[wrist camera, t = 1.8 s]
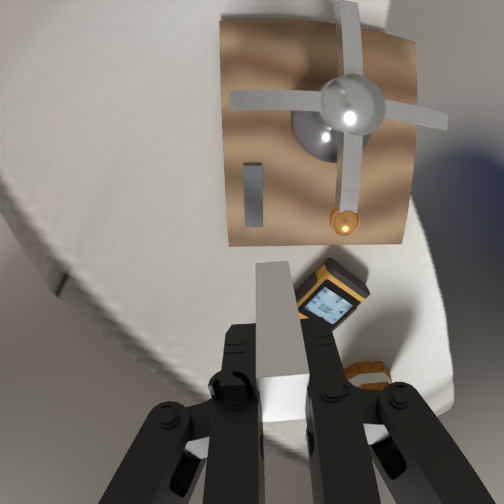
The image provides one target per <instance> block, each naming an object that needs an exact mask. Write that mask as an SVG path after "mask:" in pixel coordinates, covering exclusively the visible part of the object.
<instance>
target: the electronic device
mask: <svg viewBox="0 0 504 504" xmlns="http://www.w3.org/2000/svg"><path fill="white" fill-rule="evenodd" d="M369 295H370V292H369V290H368V288H367V286H366V285H365V284H364V283H363V282H361V281H360V280H359V279H358V278H356V277H355V276H354V275H352V274H351V273H349V272H348V271H347V270H345V269H344V268H343V267H341V266H340V265H339V264H337V263H336V262H335V261H333V260H331V258H328V259H327V260H326V261H325V263H324V264H323V265H322V266H321V267H320V268H319V269H318V270H317V271H316V273H313V274H312V275H311V276H310V277H309V278H308V279H307V280H306V281H305V282H304V283H303V284H302V286H301V287H300V288H299V289H298V290H297V291H296V292H295V298H296V303H297V308H298V313H299V318H300V319H305V318H314V317H323V318H324V319H325V320H326V321H327V322H328V323H329V324H330V326H331V329H332V331H333V330H335V329H336V328H337V327H338V326H339V325H340V324H341V323H342V322H343V321H344V320H346V319H347V318H348V317H349V316H350V315H351V314H352V313H353V312H354V311H355V310H356V309H357V307H358V306H359V305H360V304H361V303H362V302H363V301H364V300H365V299H366V298H367V297H368V296H369Z"/></svg>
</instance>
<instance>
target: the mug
mask: <svg viewBox="0 0 504 504" xmlns="http://www.w3.org/2000/svg"><path fill="white" fill-rule="evenodd" d="M344 374H345V376H346V378H347V379H348V381H349V382H350V383H352V384H353V385H354V386H356V387H359V388H362V389H368V390H380V391H382V390H383V388H384V387H386V386H387V385H388V384H390V383H392V380H391V375H390V372H389V371H388V369H387V368H386V367H385V366H384V364H383V363H382V362H381V361H380V362H363V363H355V364H354V365H352V366H350V367H348V368H346V369H345V370H344Z"/></svg>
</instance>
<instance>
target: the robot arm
mask: <svg viewBox="0 0 504 504" xmlns="http://www.w3.org/2000/svg"><path fill="white" fill-rule="evenodd" d="M224 345H225V346H224V352H223V353H224V355H223V361H222V370H221V371H219V372H217V373H216V374H215V375H214V376H213V377H212V378H211V379H210V381H209V384H208V388H209V390H210V393H211V396H212V398H211V399H209V400H208V401H206V402H203V403H201V404H197V405H193V406H189V407H184V406H183V405H182V404H180V403H178V402H171V401H168V402H163V403H160V404H158V405H157V406H155V407H154V408H153V409H152V410H151V411H150V413H149V414H148V416H147V418H146V420H145V421H144V423H143V425H142V427H141V428H140V430H139V432H138V434H137V436H136V437H135V439H134V441H133V443H132V444H131V446H130V448H129V450H128V452H127V454H126V455H125V457H124V459H123V461H122V462H121V464H120V466H119V467H118V469H117V471H116V473H115V475H114V476H113V478H112V480H111V482H110V484H109V485H108V487H107V489H106V491H105V493H104V494H103V496H102V498H101V500H100V502H99V503H98V504H188V503H189V500H190V498H191V495H192V493H193V491H194V489H195V486H196V483H197V481H198V479H199V476H200V474H201V472H202V469H203V467H204V464H205V462H206V459H207V465H206V475H205V485H204V495H203V504H265V483H264V482H265V481H264V480H265V478H264V435H263V422H269V421H283V420H295V419H304V418H305V416H306V422H307V430H306V437H305V441H307V444H308V454H309V463H310V473H311V482H312V494H313V504H381V503H380V497H379V492H378V486H377V481H376V477H375V472H374V467H373V463H372V460H373V462H374V463H375V465H376V467H377V469H378V471H379V473H380V474H381V476H382V478H383V480H384V481H385V484H386V485H387V487H388V489H389V491H390V493H391V494H392V496H393V498H394V500H395V502H396V504H496V503H495V502H494V500H493V499H492V497H491V495H490V494H489V492H488V491H487V489H486V487H485V486H484V484H483V483H482V481H481V480H480V478H479V477H478V475H477V474H476V472H475V471H474V469H473V468H472V466H471V465H470V463H469V462H468V460H467V459H466V457H465V456H464V455H463V453H462V451H461V450H460V449H459V447H458V446H457V444H456V443H455V442H454V440H453V439H452V437H451V436H450V434H449V433H448V432H447V430H446V429H445V428H444V426H443V425H442V423H441V422H440V421H439V419H438V418H437V417H436V415H435V414H434V412H433V411H432V410H431V408H430V407H429V406H428V404H427V403H426V402H425V400H424V399H423V398H422V396H421V395H420V394H419V392H418V391H417V390H416V389H415V388H414V387H413V386H412V385H410V384H407V383H405V382H394V383H390V384H388V385H387V386H386V387H384V388H383V390H382V391H380V390H368V389H362V388H359V387H356V386H354V385H353V384H352V383H350V382H349V381H348V379H347V378H346V376H345V374H344V370H343V367H342V363H341V360H340V356H339V353H338V349H337V346H336V344H335V339H334V337H333V333H332V329H331V326H330V324H329V323H328V322H327V321H326V320H325V319H324V318H323V317H314V318H305V319H300V318H299V313H298V308H297V303H296V298H295V293H294V288H293V283H292V278H291V273H290V268H289V263H288V261H280V262H267V263H256V323H253V324H236V325H231V327H230V328H229V330H228V331H227V333H226V335H225V344H224Z"/></svg>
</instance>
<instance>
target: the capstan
mask: <svg viewBox="0 0 504 504" xmlns="http://www.w3.org/2000/svg"><path fill="white" fill-rule="evenodd" d="M334 11H335V22H336V36H337V55H338V77H337V78H335V79H333V80H330V81H328V82H326V83H323V84H321V85H319V86H318V87H317V88H314V89H312V90H310V91H301V90H236V91H229V95H230V111H257V110H284V111H292V116H291V127H292V131H293V134H294V137H295V139H296V141H297V142H298V144H299V145H300V146H301V147H302V148H303V149H304V150H305V151H306V152H307V153H309V154H310V155H312V156H313V157H315V158H317V159H319V160H321V161H325V162H329V163H337V178H336V194H335V208H334V209H333V210H332V211H331V213H330V216H329V223H330V226H331V228H332V230H333V231H334V232H335V233H337V234H339V235H342V236H348V235H351V234H353V233H354V232H355V231H356V230H357V229H358V227H359V225H360V216H359V213H358V211H357V209H358V199H359V188H360V176H361V162H362V150H363V149H364V148H365V146H366V145H367V143H368V141H369V138H370V134H371V133H372V132H373V131H375V130H376V129H377V128H378V127H379V126H380V125H381V123H382V121H383V119H389V120H396V121H401V122H407V123H412V124H418V125H422V126H427V127H432V128H436V129H441V130H446V131H447V122H448V114H446V113H443V112H439V111H435V110H431V109H427V108H423V107H419V106H415V105H410V104H405V103H400V102H395V101H390V100H384V97H383V94H382V92H381V91H380V89H379V88H378V86H377V85H376V84H375V83H374V82H373V81H371V80H370V79H368V78H367V77H365V76H363V59H362V42H361V29H360V18H359V9H358V3H355V2H350V1H344V0H338V2H337V3H336V4H335V5H334Z"/></svg>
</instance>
